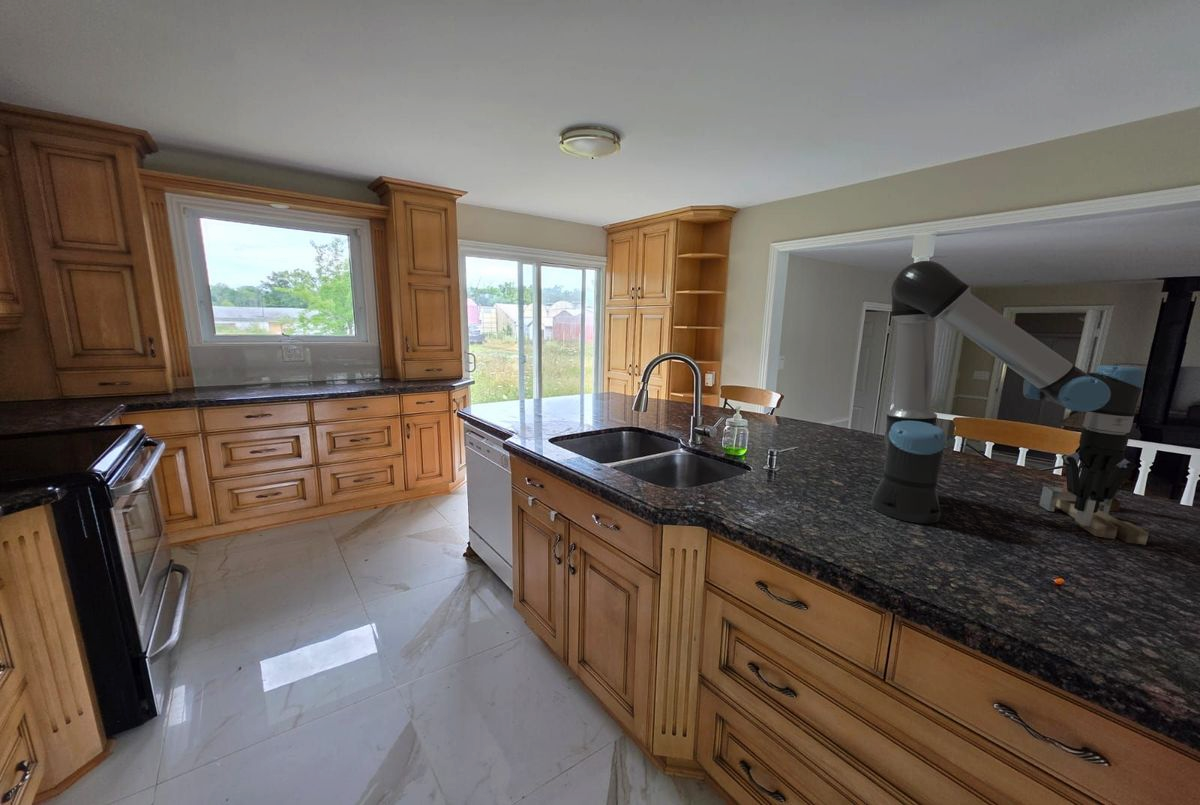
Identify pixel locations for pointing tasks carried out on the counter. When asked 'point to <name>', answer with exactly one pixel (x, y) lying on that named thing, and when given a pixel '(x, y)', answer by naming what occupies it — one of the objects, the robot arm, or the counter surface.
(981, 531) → the counter surface
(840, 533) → the counter surface
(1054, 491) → the lock collar
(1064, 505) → the tongs hinged arm
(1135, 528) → the tongs fixed arm
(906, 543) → the counter surface
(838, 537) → the counter surface
